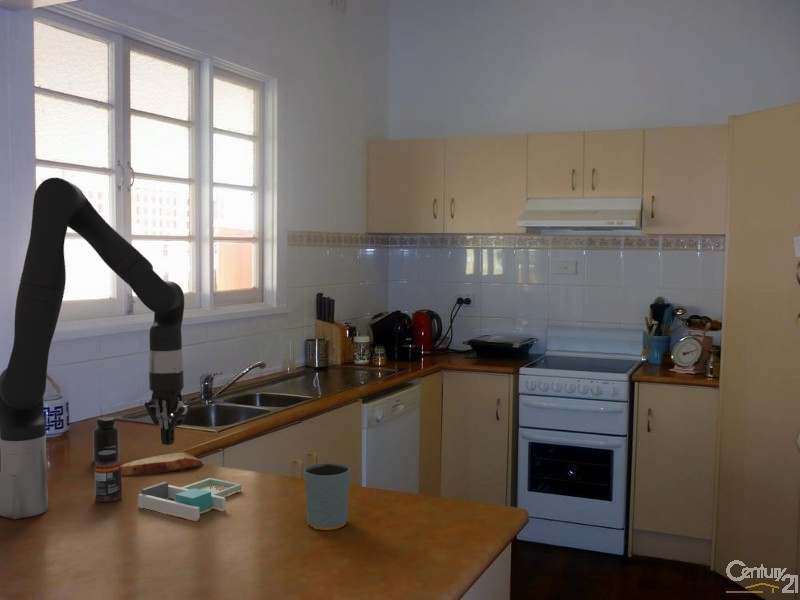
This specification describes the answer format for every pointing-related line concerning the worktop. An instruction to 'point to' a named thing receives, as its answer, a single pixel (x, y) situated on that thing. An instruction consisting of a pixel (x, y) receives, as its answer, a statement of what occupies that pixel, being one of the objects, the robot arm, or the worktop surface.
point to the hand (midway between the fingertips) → (167, 444)
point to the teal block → (195, 498)
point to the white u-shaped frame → (157, 501)
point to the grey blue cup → (327, 494)
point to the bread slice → (160, 464)
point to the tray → (210, 481)
